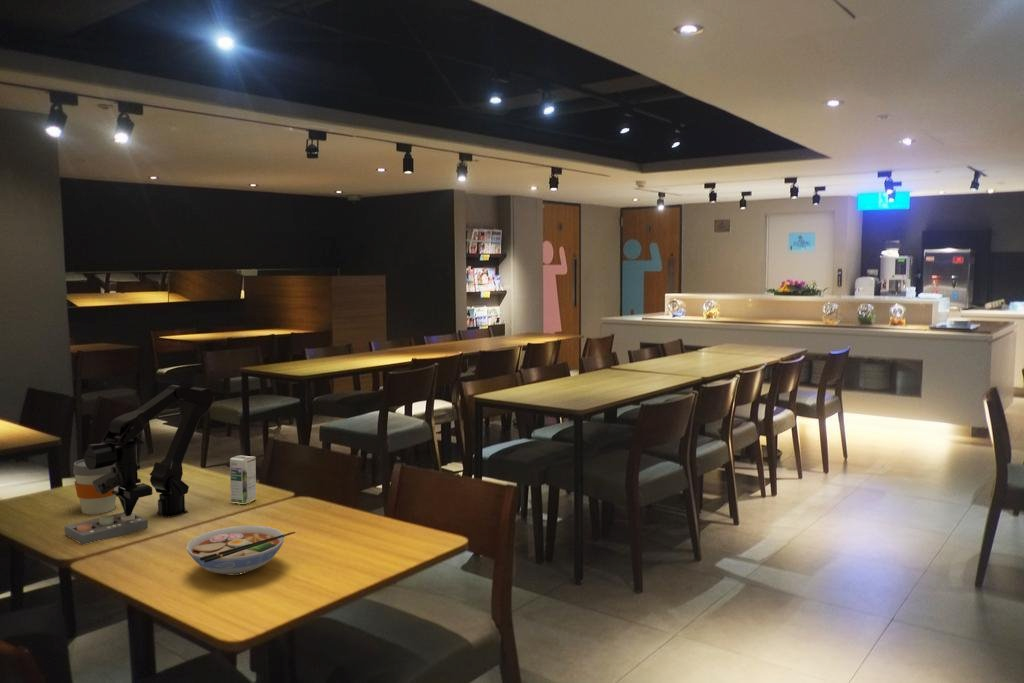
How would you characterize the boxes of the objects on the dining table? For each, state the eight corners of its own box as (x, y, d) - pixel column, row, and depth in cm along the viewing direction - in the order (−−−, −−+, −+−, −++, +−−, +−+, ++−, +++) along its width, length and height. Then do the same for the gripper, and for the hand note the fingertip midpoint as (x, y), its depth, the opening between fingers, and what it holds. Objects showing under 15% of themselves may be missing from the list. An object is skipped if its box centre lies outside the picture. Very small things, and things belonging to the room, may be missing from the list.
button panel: (128, 519, 226) (128, 510, 226) (147, 528, 218) (147, 519, 218) (65, 534, 213) (64, 525, 212) (83, 544, 205) (82, 535, 205)
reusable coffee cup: (130, 504, 240) (128, 457, 239) (105, 517, 228) (103, 467, 226) (92, 502, 242) (90, 455, 240) (65, 515, 229) (63, 465, 228)
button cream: (131, 523, 223) (131, 512, 222) (137, 525, 220) (137, 515, 220) (118, 526, 220) (118, 515, 219) (124, 528, 217) (124, 518, 217)
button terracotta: (89, 533, 214) (88, 522, 213) (94, 536, 211) (94, 525, 211) (75, 536, 211) (74, 526, 211) (80, 539, 209) (80, 528, 208)
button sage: (110, 525, 218) (110, 514, 218) (116, 527, 216) (115, 517, 215) (97, 528, 215) (96, 517, 215) (102, 531, 213) (102, 520, 213)
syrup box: (230, 504, 242) (228, 458, 240) (241, 498, 247) (240, 454, 246) (245, 505, 240) (244, 460, 239) (257, 500, 246) (256, 455, 244)
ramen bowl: (256, 545, 206) (255, 515, 205) (307, 566, 192) (307, 534, 191) (164, 573, 187) (163, 540, 186) (214, 599, 173) (213, 563, 172)
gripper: (81, 462, 218) (84, 515, 220) (110, 473, 206) (113, 530, 208) (122, 454, 227) (124, 506, 228) (152, 465, 215) (154, 520, 216)
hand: (128, 515), depth 220 cm, fingers closed, pressing on button cream
